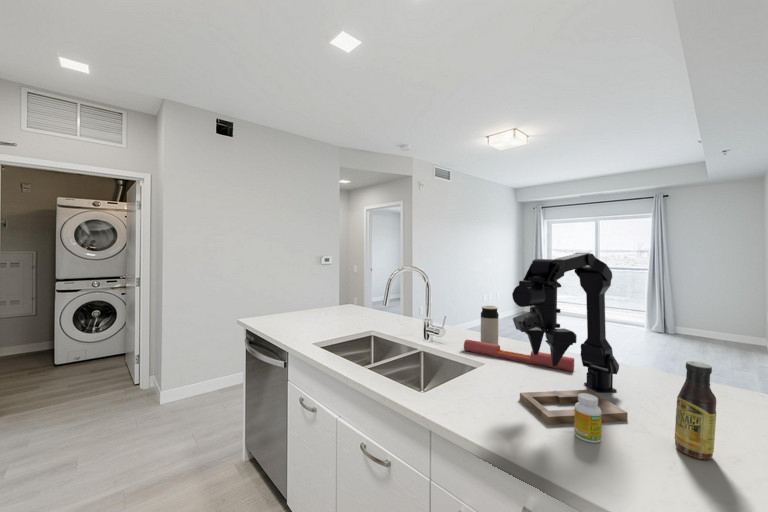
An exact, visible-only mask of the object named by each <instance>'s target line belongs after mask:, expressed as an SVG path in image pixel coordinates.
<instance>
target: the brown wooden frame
mask: <svg viewBox="0 0 768 512" xmlns="http://www.w3.org/2000/svg"><path fill="white" fill-rule="evenodd" d="M580 393H587V394H591V395H594V396H596V397H597V398H598V405H597V406H598V407H599V408H600V409H601V423H602V422H615V421H616V422H617V421H618V422H620V421H622V422H623V421H628V415H629V414H628V412H627V411H626V410H624V409H622V408H620V407H619V406H617V405H615V404H614V403H612V402H610V401H608V400H606V399H605V398H603V397H602V396H600V395H598V394H597V393H595V392H593V391H591V390H589V389H578V390H577V389H574V390H553V391H552V390H551V391H549V390H548V391H531V392H530V391H529V392H525V391H524V392H519V400H520V401H521V402H522V403H523V404H525V406H527V407H528V408H529V409H530V410H532V411H533V413H534V414H536V415H537V416H538V417H539V418H541V420H542V421H544V422H545V423H546V424H547V425H562V424H563V425H565V424H567V425H568V424H575V408H574V409H573V408H571V409H556V410H555V409H553V410H549V409H548V408H546V407H545V406H544V405H542V404H555V403H558V404H559V405H568V404H569V405H570V404H576V403H577V402H579V401H578V394H580Z"/></svg>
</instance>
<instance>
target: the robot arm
mask: <svg viewBox="0 0 768 512" xmlns="http://www.w3.org/2000/svg"><path fill="white" fill-rule="evenodd" d="M570 271H574V274H576V276H577V277H578V278H579V285H580V287H581V288H582V289H583V292H585V294H586V326H587V327H586V330H587V334H586V335H587V338H586V339H585V340H584V342H583V343H581V344H580V359H581V363H582V367H585V368H587V372H586V382H584V383H583V385H585V386H586V387H588V388H590V389H592V390H593V391H595V392H597V393H612V392H613V393H614V392H617V391H618V390H617V389H616V388H614V387H613V386H614V385H613V383H614V382H613V381H614V378H613V377H614V375H618V373H619V370H620V364H619V363H618V361H617V360H616V358H615V357H614V353H613V347H612V345H611V344H610V343H609V341H608V340H607V339H606V338H607V337H606V333H607V332H606V302H605V301H606V299H605V297H606V295H605V294H606V292H607V291H608V290H609V288H610V287H611V285H612V284H611V283H612V280H613V272H612V270H611V269H610V266H608V264H607V263H605V262H604V261H602V260H601V259H599V258H597V257H596V256H595V255H594V254H593V253H591V252H574V253H572V254H569V255H565V256H562V257H557V258H535V259H533V260H532V261H531V263H530V265H529V266H528V270H527V272H526V274H524V278H523V280H519V281H518V285H517V286H516V287H515V288H514V289H513V292H512V300H513V302H514V303H515V305H517V307H520V308H521V307H522V308H526V307H529V312H526V313H522V314H520V315H517V316H514V317H513V318H512V321H513V325H514V328H515V329H516V330H518V331H520V332H521V333H525V334H526V335H527V337H528V339H529V343H530V347H531V351H533V354H534V355H538V352H540V349H541V345H542V342H543V338H544V336H545V340H544V341H545V342H546V344H548V346H549V349H550V352H549V353H550V354H551V362H552V366H557V365H558V363H559V361H560V360H561V358H562V356H565V355H564V354H566V352H567V350H568V349H569V347H570V346H573V345H574V344H576V343H577V337H578V336H577V334H576V333H575V332H574V331H573V330H570V329H567V328H561V324H560V323H558V314H561V309H560V308H558V288H562V284H561V283H560V282H559V281H558V280H560V279H562V278H563V277H565V273H567V272H570ZM544 334H545V335H544Z"/></svg>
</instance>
